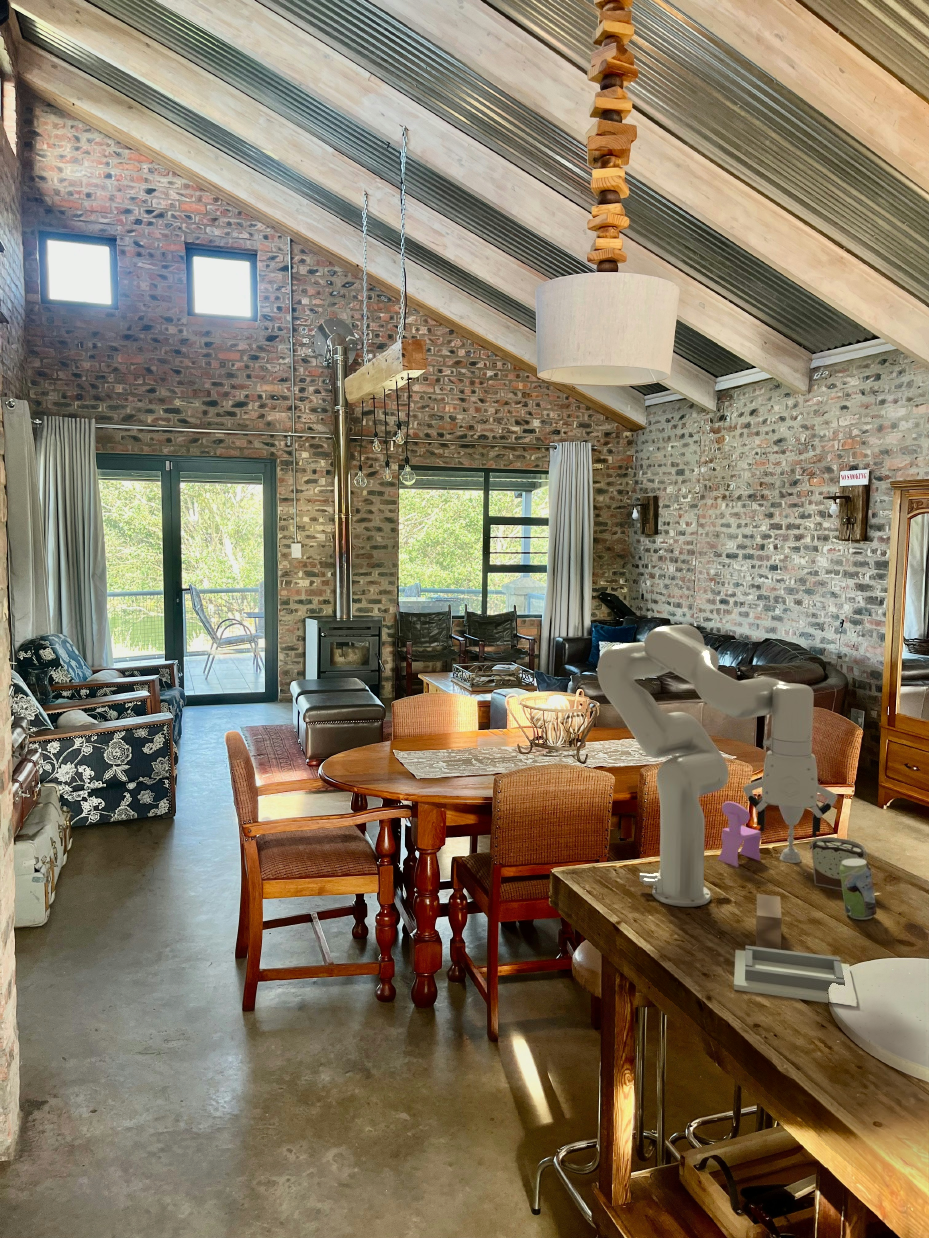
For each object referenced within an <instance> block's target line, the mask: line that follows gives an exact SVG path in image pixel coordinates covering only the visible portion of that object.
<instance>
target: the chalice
mask: <svg viewBox="0 0 929 1238" xmlns="http://www.w3.org/2000/svg"><path fill="white" fill-rule="evenodd" d="M778 808H779V810H780V814H781V816H782V818H783V821H784V822H785V825H787V826H788V827H789V829H788V831H787V834H788V838H787V843H788V847H786V848H784V849H783V850H782V853H781V855H780V857H779V860H780V861H782V862H784V863H785V862H786V863H791V864H796V863H801V862H802V859H801V856H800V854H799V851H798V850H797V849H795V848H794V845H793V844H794V842H795V841H796V840H795V839H794V834H795V831H794V826H796V825H798V823H799V822H800V820H801V818H802V817H803V814H804V811H805V810H806V808H797V807H787V806H778Z"/></svg>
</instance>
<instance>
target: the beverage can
mask: <svg viewBox="0 0 929 1238" xmlns="http://www.w3.org/2000/svg"><path fill="white" fill-rule="evenodd" d="M841 863H842V864H841V866H840V876H841V883H842V891H841V892H842V895H843V896H842V898H843V903H844V911H845V914H846V915H847V916H849V917H850V918H852V919H855V920H869V919H872V918H873V917H874V916H875V915H876V914H877V911H878V910H877V905H876V898H875V891H874V890H875V889H874V883H873V876H872V868H871V865H869V864H868V862H867V860H866V859H865V858H864V859H860V858H849V859H845V860H843V861H842V862H841Z"/></svg>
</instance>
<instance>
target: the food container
mask: <svg viewBox="0 0 929 1238" xmlns="http://www.w3.org/2000/svg"><path fill="white" fill-rule="evenodd" d="M808 850H809V851H810V850H811V853H812V864H813V879H814V885H815V886H821V887H825V888H830V889H831V888H832V889H837V890H842V883H841V876H840V866H841V864H842V863H841V862H842V861H843V860H845V859H849V858H860V859H864V860H866V861H867V860H868V854H867V850H866V847H865V846H864V845H862V844H861V843H859V842H856V841H853V840H851V839H846V838H844V839H843V838H841V837H819V838H815V839H813V840H811V843H810V844H809V848H808ZM865 858H866V859H865Z"/></svg>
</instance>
